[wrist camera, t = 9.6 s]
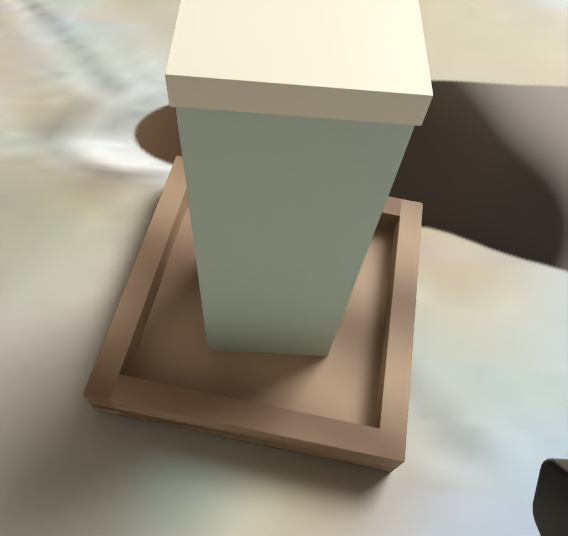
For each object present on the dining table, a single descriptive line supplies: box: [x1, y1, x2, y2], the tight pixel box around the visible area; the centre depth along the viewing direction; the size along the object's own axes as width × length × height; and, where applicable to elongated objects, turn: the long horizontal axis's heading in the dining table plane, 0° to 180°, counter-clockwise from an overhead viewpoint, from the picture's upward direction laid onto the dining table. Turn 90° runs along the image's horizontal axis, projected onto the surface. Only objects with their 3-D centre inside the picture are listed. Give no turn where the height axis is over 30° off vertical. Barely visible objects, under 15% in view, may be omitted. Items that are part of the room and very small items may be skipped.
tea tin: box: [165, 0, 433, 356], centre depth 18 cm, size 5×5×14 cm
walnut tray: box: [84, 156, 423, 472], centre depth 24 cm, size 12×12×2 cm
